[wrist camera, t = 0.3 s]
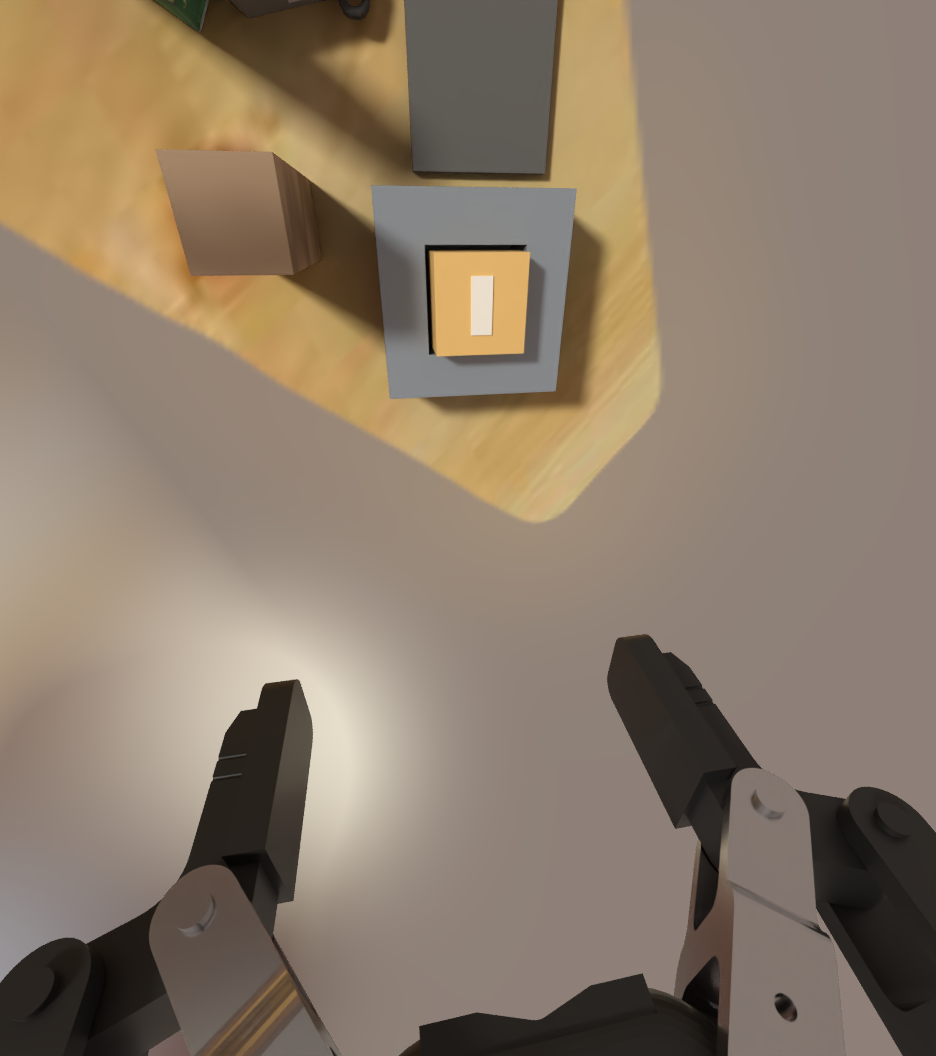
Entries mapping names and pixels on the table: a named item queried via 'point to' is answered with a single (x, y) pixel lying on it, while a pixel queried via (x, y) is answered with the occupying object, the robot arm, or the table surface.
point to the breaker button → (477, 301)
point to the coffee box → (187, 11)
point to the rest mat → (480, 84)
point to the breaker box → (470, 224)
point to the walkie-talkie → (257, 3)
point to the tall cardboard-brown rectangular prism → (240, 212)
